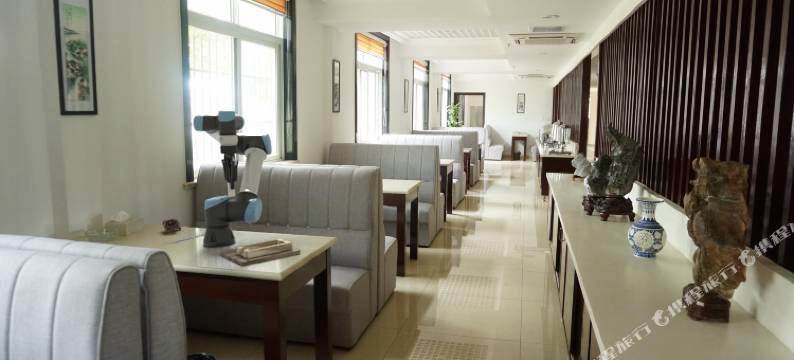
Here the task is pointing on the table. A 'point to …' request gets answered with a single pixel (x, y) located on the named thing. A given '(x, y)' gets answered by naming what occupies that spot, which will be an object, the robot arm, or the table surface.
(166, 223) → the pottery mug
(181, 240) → the plaque
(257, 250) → the wooden tray
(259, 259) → the display board
